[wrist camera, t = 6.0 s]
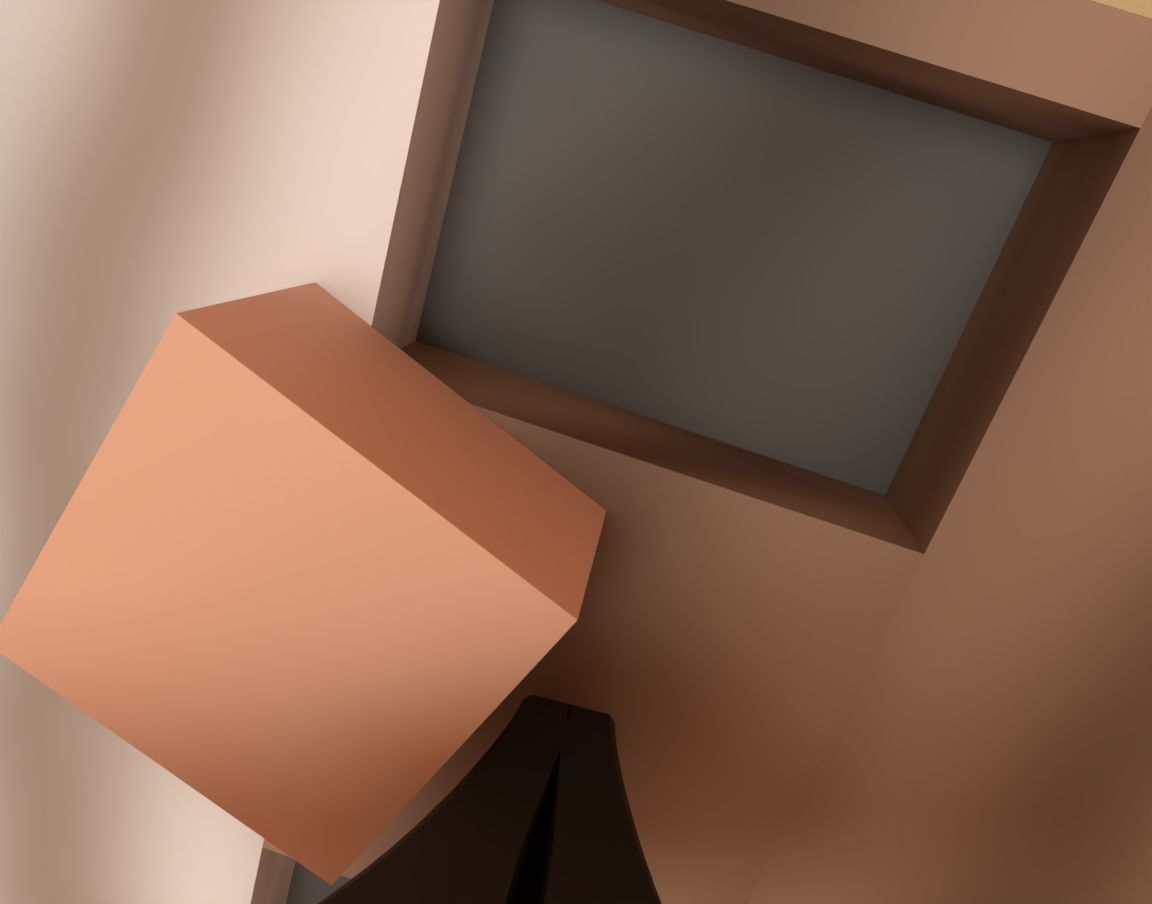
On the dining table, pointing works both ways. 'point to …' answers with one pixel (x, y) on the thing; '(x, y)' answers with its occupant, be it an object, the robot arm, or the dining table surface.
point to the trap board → (654, 400)
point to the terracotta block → (301, 571)
